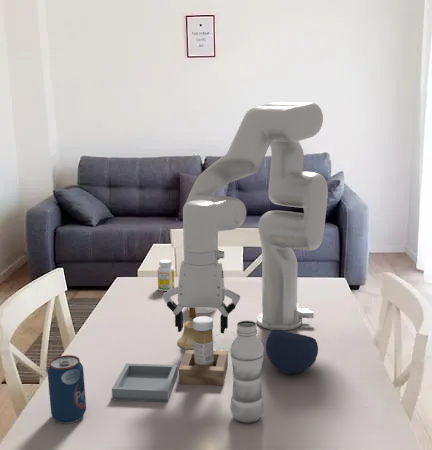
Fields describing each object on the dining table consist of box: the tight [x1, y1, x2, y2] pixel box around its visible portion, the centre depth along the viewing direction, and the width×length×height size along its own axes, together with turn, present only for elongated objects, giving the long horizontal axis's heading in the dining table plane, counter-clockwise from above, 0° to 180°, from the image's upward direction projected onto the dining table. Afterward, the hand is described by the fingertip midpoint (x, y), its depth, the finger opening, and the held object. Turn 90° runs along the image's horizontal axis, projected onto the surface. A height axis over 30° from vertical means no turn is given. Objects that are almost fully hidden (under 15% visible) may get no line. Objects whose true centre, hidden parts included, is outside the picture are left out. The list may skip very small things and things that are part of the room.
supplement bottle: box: [157, 258, 175, 292], centre depth 196 cm, size 5×5×10 cm
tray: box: [111, 362, 179, 403], centre depth 133 cm, size 12×12×2 cm
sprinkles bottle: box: [193, 315, 214, 366], centre depth 137 cm, size 5×5×13 cm
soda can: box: [47, 354, 87, 424], centre depth 120 cm, size 7×7×12 cm
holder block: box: [178, 349, 229, 386], centre depth 138 cm, size 10×10×4 cm
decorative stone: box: [265, 329, 319, 375], centre depth 138 cm, size 12×12×10 cm
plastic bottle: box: [229, 320, 265, 424], centre depth 117 cm, size 6×7×20 cm
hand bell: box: [177, 308, 197, 350], centre depth 154 cm, size 8×8×16 cm
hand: (201, 330), depth 135 cm, fingers open, 9 cm apart
